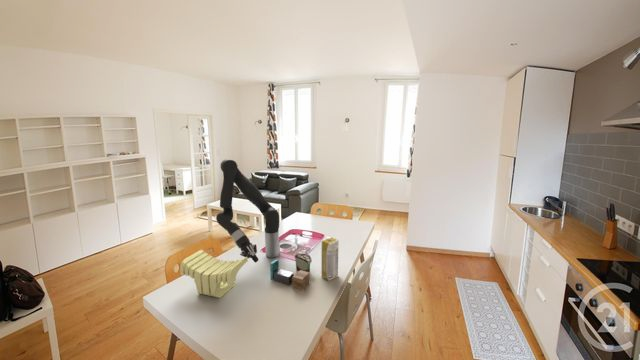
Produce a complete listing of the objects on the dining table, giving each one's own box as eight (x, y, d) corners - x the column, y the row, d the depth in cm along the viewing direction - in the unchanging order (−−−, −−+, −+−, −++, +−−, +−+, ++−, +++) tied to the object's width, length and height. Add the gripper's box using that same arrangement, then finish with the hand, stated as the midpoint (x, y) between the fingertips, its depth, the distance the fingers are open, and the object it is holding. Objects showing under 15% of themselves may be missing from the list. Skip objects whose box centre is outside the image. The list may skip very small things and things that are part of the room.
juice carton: (330, 271, 166) (330, 234, 162) (340, 276, 161) (340, 237, 156) (319, 277, 160) (319, 238, 155) (329, 282, 154) (329, 242, 150)
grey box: (276, 274, 161) (276, 259, 159) (305, 283, 153) (305, 266, 151) (270, 279, 156) (270, 263, 154) (300, 288, 147) (299, 271, 145)
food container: (315, 272, 164) (315, 257, 163) (308, 276, 160) (308, 261, 158) (302, 265, 173) (301, 251, 171) (294, 269, 168) (294, 254, 166)
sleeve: (279, 276, 160) (279, 268, 159) (293, 280, 156) (293, 272, 155) (274, 281, 155) (273, 272, 154) (288, 285, 151) (288, 277, 150)
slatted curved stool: (182, 293, 144) (179, 262, 140) (203, 277, 159) (201, 249, 155) (231, 303, 135) (229, 270, 132) (248, 286, 150) (247, 256, 147)
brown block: (300, 281, 155) (300, 269, 154) (309, 283, 153) (309, 272, 151) (292, 288, 148) (292, 276, 147) (302, 291, 146) (302, 279, 144)
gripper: (235, 239, 158) (253, 263, 155) (250, 231, 170) (267, 253, 167) (229, 245, 161) (246, 269, 158) (244, 237, 173) (260, 259, 170)
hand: (257, 261), depth 162 cm, fingers closed
